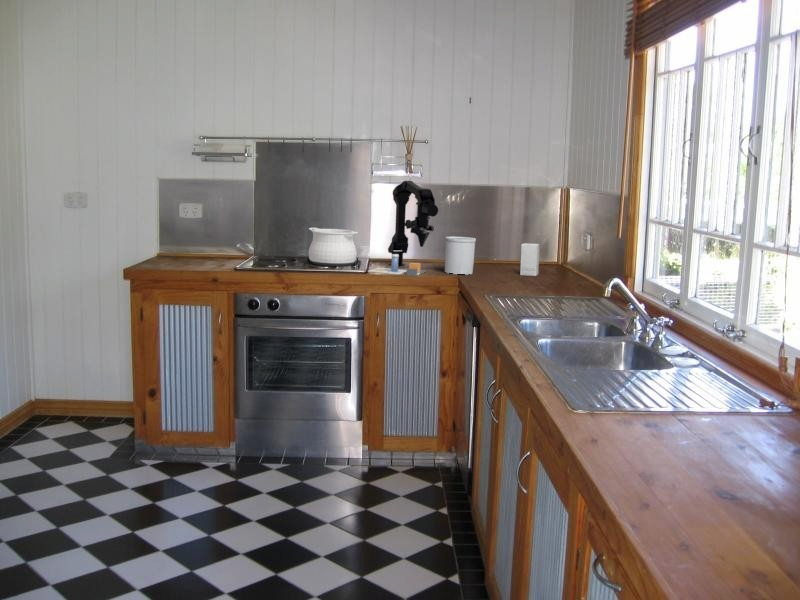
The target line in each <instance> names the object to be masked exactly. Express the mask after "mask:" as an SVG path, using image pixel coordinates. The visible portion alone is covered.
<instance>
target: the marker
mask: <svg viewBox="0 0 800 600" xmlns="http://www.w3.org/2000/svg"><path fill="white" fill-rule="evenodd" d="M398 257H399V254H392V253H391V263H392V265H390V266H391V268H390V269H391V271H392V272H398V269H399V265H398Z"/></svg>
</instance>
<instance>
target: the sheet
mask: <svg viewBox="0 0 800 600" xmlns="http://www.w3.org/2000/svg"><path fill="white" fill-rule="evenodd" d="M367 272H368V273H378V274H387V275H388V274H390V275H398V274H399V275H402V274H405V273H407V269H402V268H401V269H399V268H398V272H392V271H391V268H388V267H377V268H376V267H375V268H372V269H369V270H367ZM404 272H405V273H404Z"/></svg>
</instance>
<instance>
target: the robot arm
mask: <svg viewBox="0 0 800 600" xmlns="http://www.w3.org/2000/svg"><path fill="white" fill-rule="evenodd" d="M412 194H413V195H414V198H415V199H416V200H417V201H416V203H415V205H416V206H417V210H416V212H417V213H416V214H417V215H416V216H415V218H414V220H410V219H406V212H407V211H406V207H407V204H408V203H409V201H410V197H411V196H412ZM392 197H393V199H392V200H393V201H394V203H395V206H396V208H395V232H394V234H393V236H392V238H391V242H390V244H389V246H388V248H387V251H388V253H390V254H391V255H392V254H399V257H398V267H400V266H404V265H406V263H403V261H404V254H407V253H408V249H409V237H408V236H407V235H406V233H405V232H406V230H409V229H410V234H415V235H416V236H417V238H418V242H419V247H420V248H423V247H424V245H425V244H426V241H427V239H428V238H429V237H428V236H429V235H430V234H431V232H435V230H434V229H435V227H434V226H433V225H432V224H430V223H429V221H430V220H431V217H436V216H437V215H438V213H439V208H438V206H437V205H436V200H435V197H434V195H433V191H432V189H430V188H425V187H421V186H419V185H418V184H416V183H415V182H414V181H412V180H404V181H402V182H401V183H400V184H397V185H396V186H395V187H394V188H393V190H392ZM428 231H429V232H428ZM391 265H392V262H390V263H389V266H391Z"/></svg>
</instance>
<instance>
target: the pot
mask: <svg viewBox="0 0 800 600" xmlns="http://www.w3.org/2000/svg"><path fill="white" fill-rule="evenodd" d="M308 230H309V231H311V232H312V241H311V243H310V245H309V247H308V248H309V249H308V258H309V260H310V262H311V263H312V264H313V265H316V266H322V265H324V266H323V267H349V266H352V265H354V263H355V262H356V259H357V248H356V245H355V243H354V236H355V235H356V234H359V231H355V230H350V229H343V228H341V229H340V228H319V227H309V228H308Z"/></svg>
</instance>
